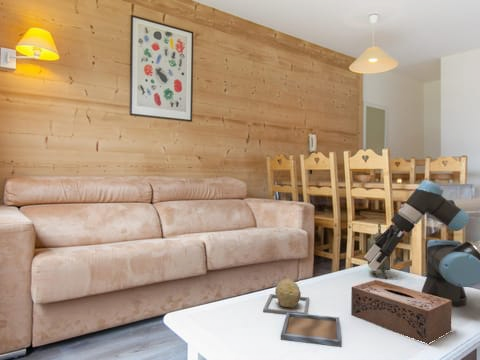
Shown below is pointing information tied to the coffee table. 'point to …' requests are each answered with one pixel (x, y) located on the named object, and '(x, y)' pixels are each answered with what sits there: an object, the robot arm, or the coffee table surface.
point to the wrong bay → (284, 310)
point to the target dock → (312, 329)
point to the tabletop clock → (371, 241)
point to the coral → (288, 293)
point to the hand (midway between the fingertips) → (369, 263)
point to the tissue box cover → (402, 310)
